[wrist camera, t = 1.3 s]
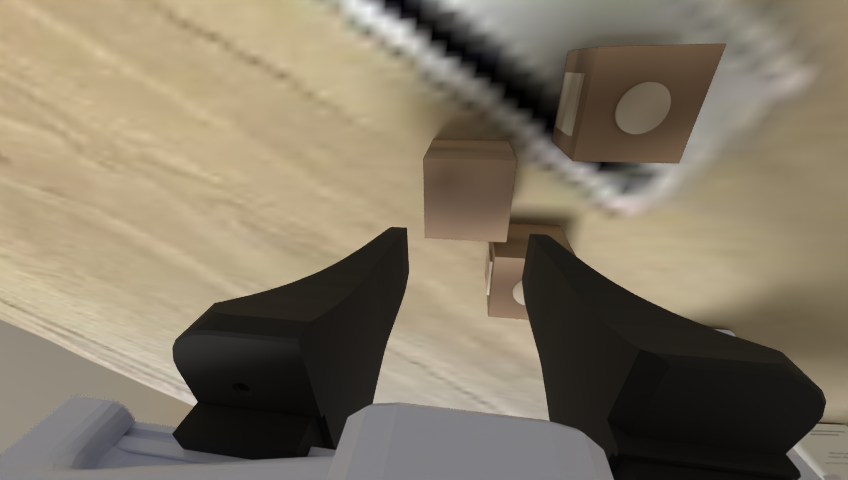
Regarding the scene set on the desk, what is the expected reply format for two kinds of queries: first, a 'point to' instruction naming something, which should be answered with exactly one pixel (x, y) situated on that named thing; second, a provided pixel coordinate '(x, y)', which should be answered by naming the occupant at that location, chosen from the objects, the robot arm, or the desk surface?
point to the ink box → (825, 450)
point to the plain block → (468, 189)
